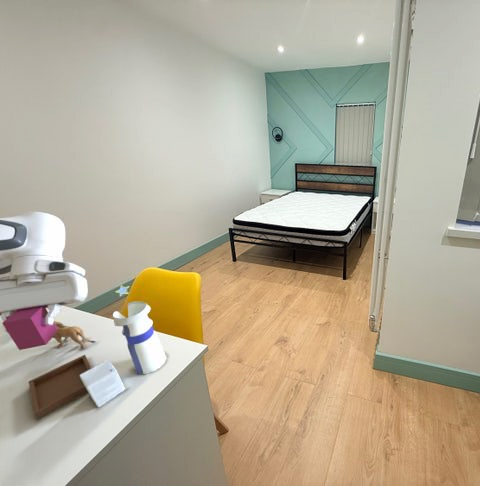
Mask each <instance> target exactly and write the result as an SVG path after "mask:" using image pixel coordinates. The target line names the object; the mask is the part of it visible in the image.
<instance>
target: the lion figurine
mask: <svg viewBox="0 0 480 486" xmlns="http://www.w3.org/2000/svg"><path fill="white" fill-rule="evenodd" d="M53 323H54V325H55V326H56V328H57V330H58V331H57V333H56V334H55V335H54V336H53V337H52V338H51V339H55V341H56V342H57V343H59V344H58V345H57V347H58V348H62V347H63V346H65V343H64V342H67V341H70V339H71V340H72V341H73V342H74V343H76V344H78V345H80V349H81V350H83V349H85V348H87V345H86V344H85V342H87V343H91V344H95V343H96V340H89V339H88V338H87V337H86V336H85V334H84V330H83V329H82V328H81V327H79V326H76V325H74V326H69V325H64V324H63V323H62V322H60V321H57V320H54V321H53ZM79 336H80V337H81V340H80V338H79ZM62 338H64V341H63V340H62Z"/></svg>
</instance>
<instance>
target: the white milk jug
mask: <svg viewBox="0 0 480 486" xmlns="http://www.w3.org/2000/svg"><path fill="white" fill-rule="evenodd" d="M129 288H130V286H129V285H127V286H124V285H122V284H121V285H120V286H119V289H117V290H115V291H114V293H117V294H119V298H120V297H122V296H124V295H128V294H129V293H130V292H128V289H129ZM151 309H152V308H151V306H150V305H148V303H146V302H145V301H141V300H139V301H137V300H136V301H131V302H128V303H127V315H128V317H127V316H125V315H123V314H121V313H120V312H119V311H118V310H117V311H114V312H113V313H112V320H113V323H114V326H115V327H122V330H121V334H122V335H123V336H124V337H125V340H126V347H127V350H128V352H129V355H130V357H131V361H132V364H133V366H134V370H135V372H136V373H137V374H139V375H146V374H151V373H152V372H156V371H157V370H159V369H160V368H161V367H162V366H163V365H164V364H165V362H166V360H167V355H166V353H165V351H164V349H163V346H162V344H161V341H160V339H159V336H158V334H157V331H155V330H154V327H153V323H154V322H153V320H152V319H151V318H149V316H148V314H149V313H150V312H151Z"/></svg>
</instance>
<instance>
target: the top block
mask: <svg viewBox="0 0 480 486" xmlns="http://www.w3.org/2000/svg"><path fill="white" fill-rule="evenodd" d="M48 312H49V311H48V309H47V308H45V306H44V305H43V306H37V307H31V308H25V309H19V310H17V311H15V312H14V313H13V314H12V315H11V316H10V317H8V318H7V319H6V320H5V321H2V326H3V327H4V330H5V329H6V330H7V332H6V333H7V334H9V336H10V339H12V342H13V344H15V346H16V347H17V349H18V350H19V351H22V350H23V351H24V350H27V349H31V348H37V347H42V346H47V344H49V342H50V341H51V340H52V339H53V338H52V337H53V336H54V335H55V334H56V333H57V331H58V330H57V328H56V326H55V325H54V323H53V325H48V326H41V318H44V317H46V315H47V314H48Z"/></svg>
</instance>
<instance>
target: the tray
mask: <svg viewBox="0 0 480 486" xmlns="http://www.w3.org/2000/svg"><path fill="white" fill-rule="evenodd" d="M92 368H93V367H91V364H90V361H89V360H88V357H87V356H86V354H83V355H81V356H79V357H77V358H74V359H73V360H70V361H68V362H66V363H64V364H62V365H60V366H57V367H56V368H53V369H52V370H50V371H47V372H45V373H43V374H41V375H39V376H37V377H34V378H32V379H30V380H28V385H29V392H30V399H31V404H32V409H33V410H32V411H33V415H34V416H35V418H36V419H37V420H41V419H42V418H44V417H46V416H47V415H49V414H51V413H53V412H55V411H56V410H58V409H60V408H62V407H64V406H65V405H68V404H69V403H71V402H72V401H74V400H76V399H78V398H80V397H81V396H83V395H85V394H87V393H88V391H87V389H86V387H85V385H84V384H83V382H82V380H81V378H80V375H81V374H83V373H84V372H86V371H88V370H90V369H92Z"/></svg>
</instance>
